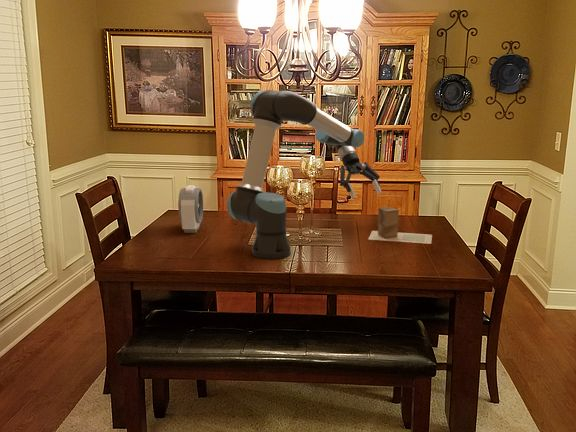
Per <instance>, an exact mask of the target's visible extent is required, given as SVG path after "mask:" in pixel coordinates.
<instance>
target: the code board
mask: <svg viewBox="0 0 576 432" xmlns="http://www.w3.org/2000/svg"><path fill="white" fill-rule="evenodd" d="M432 238H433V234H427V233H425V234H424V233H415V232H414V233H412V232H411V233H410V232H398V235H397V237H394V238H387V239H385V238H383V237H381V236H378V230H371V233H370V235H369V236H368V238H367V240H370V241H383V242H384V241H386V242H398V243H399V242H402V243H415V244H425V245H426V244H429V245H430V244H432V241H433V240H432Z"/></svg>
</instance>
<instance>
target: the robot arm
mask: <svg viewBox="0 0 576 432" xmlns="http://www.w3.org/2000/svg"><path fill="white" fill-rule="evenodd" d="M249 109H250V114H251V115H252V117H253V118H252V122H253V123H254V129H253V134H252V138H251V142H250V146H249V151H248V155H247V159H246V163H245V167H244V171H243V176H242V180H241V182H240V183H238V185H237V186H236V189H235V191H232V192H231V194H229V196H228V197H227V201H226V209H227V212H228V213H229V215H230V217H231V218H232V219H234V220H236V221H239V222H242V223H247V224H253V225H256V228H255V229H256V234H255V238H254V241H253V244H252V248H251V250H252V251H251V252H252V255H253V256H254V257H255V258H258V259H263V260H264V259H265V260H266V259H267V260H276V259H284V258H287V257H289V256H290V255H291V251H292V250H291V245H290V242H289V239H288V236H287V235H288V234H287V203H286V199H285V197H284V196H283V195H281V194H279V193H275V192H266V191H265V190H264V188H263V186H264V182H265V178H266V174H267V170H268V165H269V163H270V162H269V160H270V157H271V152H272V149H273V144H274V140H275V136H276V132H277V130H278V129H280V128H281V126H282V122H293V123H295V122H296V123H299V124H301V125H303V126H307V125H308V126H309V127H311V128H314V129H316V131H315V135H314V136H315V139H316V140H317V142H319V143H321V144H326V145H328V146H332V147H334V148H335V150H336V151H337V153H338V155H339V157H340V160H341V162H342V164H343V165H341V166H340V167H339V172H340V178H339V186H340V187H343V188H345V190H346V192H347V193H349V195H350V198H351V199H352V200H355V198H356V197H357V195H356V193H355V190H354V188H353V186H352V185H351V183H349V182H350V179H351V178H352V175H353V176H354V175H362V176H363V177H365V178H367V179H368V180H370V181H371V183H372V186H373V188H374V190H375V192H376V194H377V195H380V194H381V193H382V189H381V187H380V183H379V181H378V180H379V179H380V178H381V176H380V175H379V174H378V173H377V172H376V171H375V170H374V169H373V168H372V167H371V166H369V164H368V162H367V161H365V162H364V163H362V162H360V158H359V156H358V153H357V152H356V150H355V148H359V147H362V146H363V145H364V143H365V141H364V140H365V134H364V132H363V131H362V130H361V129H357V128H355V129H354V128H352V127H350V126H348V125H346V124H344V123H343V122H341V121H339V119H336V118H334V117H333V116H331V115H330V114H328V113H326V112H324V111H323V110H321V109H319V108H318V107H317V105H316V103H314V102H313V101H311V100H309V99H307V98H306V97H304V96H303V95H301V94H298V93H297V92H293V91H290V90H272V89H266V90H259V91H258V92H256V93H255V94H254V96H252V98H251V101H250V105H249ZM346 171H347V172H348V173H347V176H345V175H346Z"/></svg>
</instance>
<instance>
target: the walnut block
mask: <svg viewBox="0 0 576 432" xmlns="http://www.w3.org/2000/svg"><path fill="white" fill-rule="evenodd" d="M377 215H378V219H377V220H378V221H377V231H378V236H381V237H383V238H385V239H387V238H394V237H397V235H398V233H399V232H398V231H399V209H397V208H394V207H392V206H387V207H386V206H385V207H379V208H378V214H377Z"/></svg>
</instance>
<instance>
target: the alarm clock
mask: <svg viewBox="0 0 576 432" xmlns="http://www.w3.org/2000/svg"><path fill="white" fill-rule="evenodd" d="M177 203H178V204H177V205H178V208H177V209H178V216H179V221H180V222H181V229H182V230H183V233H185V234H187V233H188V234H190V233H191V234H193V233H195V234H196V233H197V232H198V231H199V229H200V227H201V223H202V221H203V217H204V195H203V189H201V188H199V187H196V186H195V185H193V184H189V185H187V186H186V187H182V188H180V190H179V193H178V202H177ZM197 230H198V231H197Z"/></svg>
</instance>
